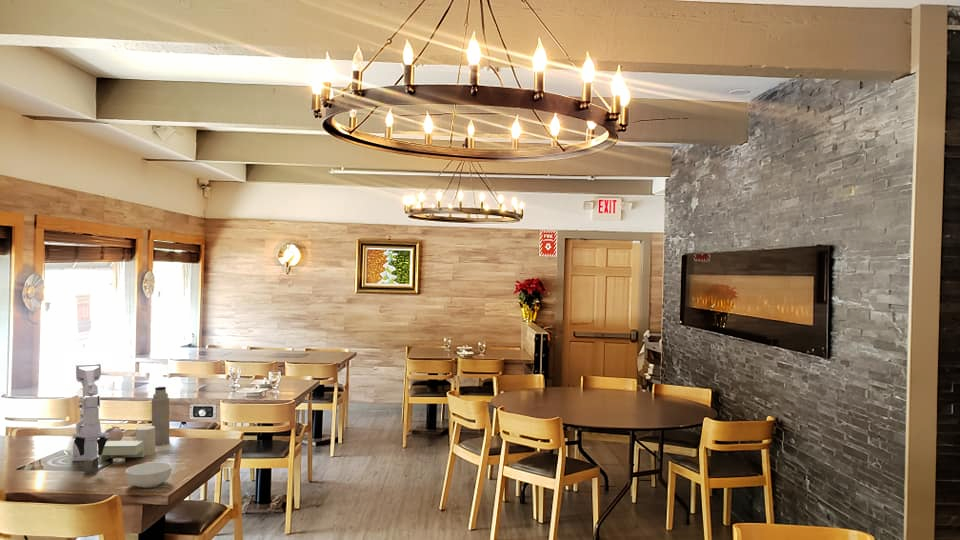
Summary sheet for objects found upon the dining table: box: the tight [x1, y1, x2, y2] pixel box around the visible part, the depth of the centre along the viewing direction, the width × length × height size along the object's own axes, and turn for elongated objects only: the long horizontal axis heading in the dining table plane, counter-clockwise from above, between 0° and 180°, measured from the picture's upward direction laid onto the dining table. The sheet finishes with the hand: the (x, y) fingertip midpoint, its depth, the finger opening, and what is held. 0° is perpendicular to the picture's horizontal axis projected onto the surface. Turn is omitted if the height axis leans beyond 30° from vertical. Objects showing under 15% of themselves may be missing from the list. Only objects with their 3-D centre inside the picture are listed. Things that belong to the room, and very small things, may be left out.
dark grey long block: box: [83, 457, 110, 475], centre depth 308 cm, size 4×16×6 cm, turn 3°
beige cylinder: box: [135, 425, 156, 456], centre depth 334 cm, size 8×8×12 cm
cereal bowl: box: [124, 461, 173, 488], centre depth 286 cm, size 17×17×7 cm
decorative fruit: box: [103, 426, 124, 441], centre depth 346 cm, size 9×8×10 cm
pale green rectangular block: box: [98, 440, 145, 464], centre depth 322 cm, size 17×10×8 cm, turn 93°
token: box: [112, 456, 126, 465], centre depth 318 cm, size 5×5×2 cm
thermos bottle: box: [151, 386, 170, 446], centre depth 352 cm, size 8×8×28 cm
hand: (91, 454), depth 303 cm, fingers open, 7 cm apart
